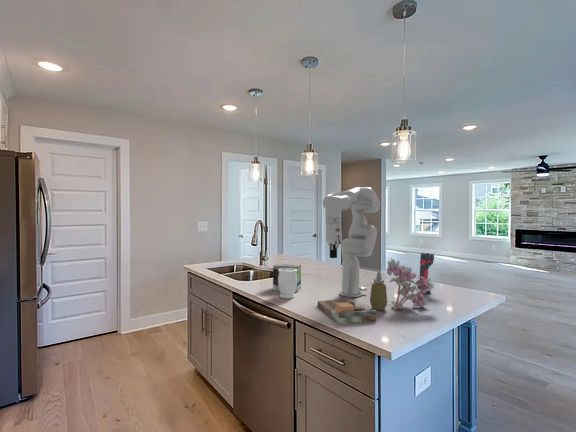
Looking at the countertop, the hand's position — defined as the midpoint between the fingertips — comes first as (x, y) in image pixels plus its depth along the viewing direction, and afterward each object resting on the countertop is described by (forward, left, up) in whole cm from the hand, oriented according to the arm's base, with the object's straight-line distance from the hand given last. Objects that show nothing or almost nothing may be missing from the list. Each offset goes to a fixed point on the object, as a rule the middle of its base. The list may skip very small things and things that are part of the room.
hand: (333, 257), depth 161 cm
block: (+3, +21, -21) cm, 30 cm away
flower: (-36, +12, -24) cm, 45 cm away
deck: (-1, +13, -24) cm, 27 cm away
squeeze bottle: (-19, +11, -24) cm, 32 cm away
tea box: (+14, -36, -24) cm, 46 cm away
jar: (+18, -20, -24) cm, 36 cm away
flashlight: (-64, -12, -24) cm, 69 cm away
